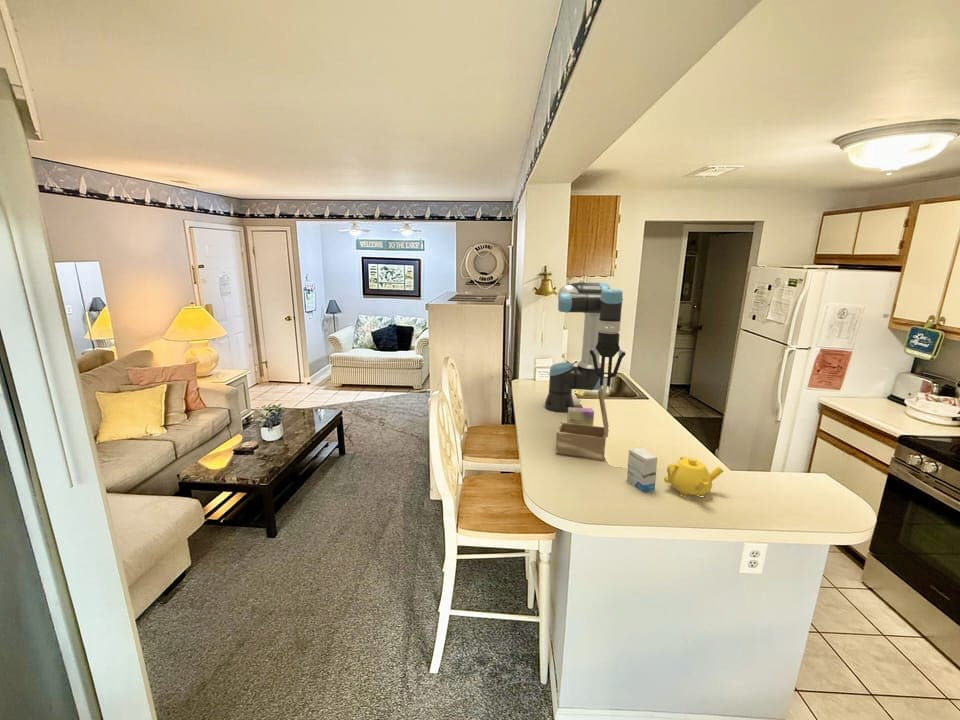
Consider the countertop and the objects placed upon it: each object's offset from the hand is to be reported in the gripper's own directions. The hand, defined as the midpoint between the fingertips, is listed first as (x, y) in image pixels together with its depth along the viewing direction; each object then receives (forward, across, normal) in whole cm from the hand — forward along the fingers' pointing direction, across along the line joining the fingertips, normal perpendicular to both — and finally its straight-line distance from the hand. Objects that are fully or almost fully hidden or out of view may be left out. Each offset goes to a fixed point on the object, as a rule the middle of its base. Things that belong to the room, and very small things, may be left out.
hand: (604, 394), depth 158 cm
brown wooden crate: (+24, -7, 0) cm, 25 cm away
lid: (+6, 0, 0) cm, 6 cm away
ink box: (+25, +14, -21) cm, 35 cm away
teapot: (+25, +30, -20) cm, 44 cm away
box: (+25, -9, +17) cm, 31 cm away
